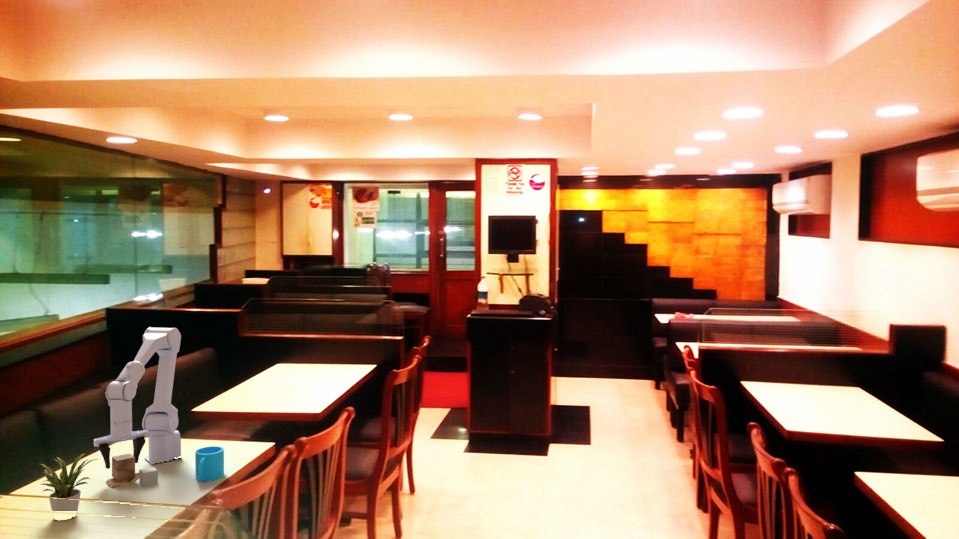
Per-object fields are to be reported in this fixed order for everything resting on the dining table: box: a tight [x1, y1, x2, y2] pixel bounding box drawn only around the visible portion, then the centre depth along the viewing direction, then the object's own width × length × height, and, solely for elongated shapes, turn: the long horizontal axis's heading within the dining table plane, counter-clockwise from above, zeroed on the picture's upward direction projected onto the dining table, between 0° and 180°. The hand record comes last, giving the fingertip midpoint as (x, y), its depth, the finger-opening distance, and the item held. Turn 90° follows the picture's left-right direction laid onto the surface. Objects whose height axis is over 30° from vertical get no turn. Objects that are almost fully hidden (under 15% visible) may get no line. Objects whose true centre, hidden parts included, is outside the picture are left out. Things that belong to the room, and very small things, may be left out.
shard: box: [105, 472, 139, 488], centre depth 198 cm, size 11×8×2 cm
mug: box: [195, 445, 225, 482], centre depth 201 cm, size 12×8×8 cm
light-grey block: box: [138, 466, 159, 487], centre depth 197 cm, size 4×4×4 cm
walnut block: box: [111, 453, 136, 481], centre depth 199 cm, size 5×5×6 cm
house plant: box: [40, 453, 98, 512], centre depth 173 cm, size 14×14×16 cm
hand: (121, 464), depth 198 cm, fingers open, 7 cm apart
